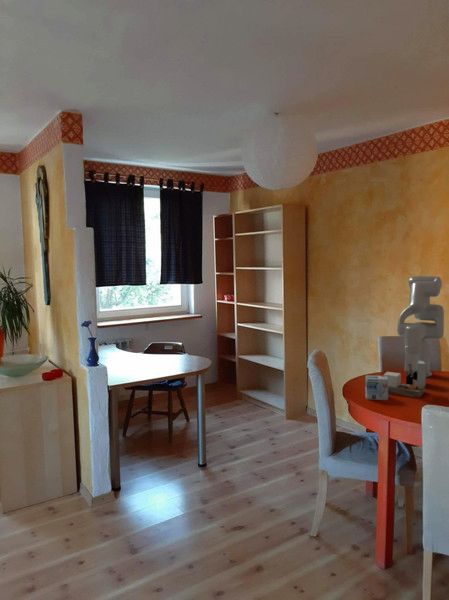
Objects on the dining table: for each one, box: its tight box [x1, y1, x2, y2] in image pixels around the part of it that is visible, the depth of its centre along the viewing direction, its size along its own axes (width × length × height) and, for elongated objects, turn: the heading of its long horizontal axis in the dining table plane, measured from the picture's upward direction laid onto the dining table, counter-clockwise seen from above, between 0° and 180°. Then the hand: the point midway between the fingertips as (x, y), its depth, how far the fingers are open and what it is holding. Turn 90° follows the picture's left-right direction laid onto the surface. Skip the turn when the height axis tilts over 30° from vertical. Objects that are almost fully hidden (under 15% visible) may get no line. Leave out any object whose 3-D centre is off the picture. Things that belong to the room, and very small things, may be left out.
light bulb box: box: [364, 375, 389, 401], centre depth 233 cm, size 11×7×11 cm, turn 80°
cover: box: [383, 371, 402, 388], centre depth 244 cm, size 7×7×6 cm
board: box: [388, 382, 426, 399], centre depth 242 cm, size 12×20×3 cm, turn 55°
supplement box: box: [416, 361, 427, 387], centre depth 255 cm, size 7×7×13 cm
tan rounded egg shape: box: [407, 380, 416, 390], centre depth 239 cm, size 4×4×7 cm
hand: (411, 382), depth 238 cm, fingers open, 9 cm apart
